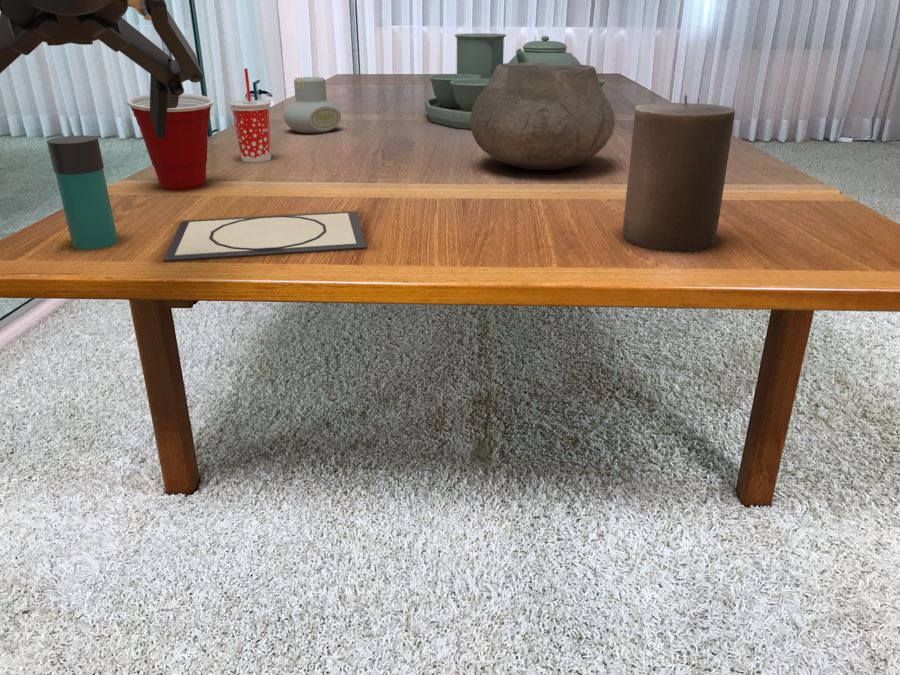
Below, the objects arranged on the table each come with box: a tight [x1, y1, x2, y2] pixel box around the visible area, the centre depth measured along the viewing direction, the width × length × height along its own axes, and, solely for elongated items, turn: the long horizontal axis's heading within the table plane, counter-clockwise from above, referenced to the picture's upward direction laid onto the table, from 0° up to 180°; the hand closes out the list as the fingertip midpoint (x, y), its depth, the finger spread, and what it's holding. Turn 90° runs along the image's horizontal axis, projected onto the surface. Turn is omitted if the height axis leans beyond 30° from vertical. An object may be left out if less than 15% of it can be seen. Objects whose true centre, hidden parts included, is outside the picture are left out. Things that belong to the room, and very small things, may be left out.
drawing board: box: [162, 210, 368, 263], centre depth 78 cm, size 20×14×1 cm
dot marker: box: [46, 135, 119, 251], centre depth 74 cm, size 5×5×11 cm
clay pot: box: [469, 62, 616, 172], centre depth 107 cm, size 22×21×15 cm
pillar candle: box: [622, 94, 736, 254], centre depth 74 cm, size 10×10×15 cm
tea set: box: [424, 33, 606, 130], centre depth 152 cm, size 40×40×16 cm
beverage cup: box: [229, 68, 272, 163], centre depth 113 cm, size 6×6×14 cm
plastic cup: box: [126, 92, 214, 192], centre depth 97 cm, size 11×11×12 cm
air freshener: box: [283, 76, 342, 135], centre depth 139 cm, size 11×8×10 cm
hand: (78, 133), depth 65 cm, fingers open, 13 cm apart
